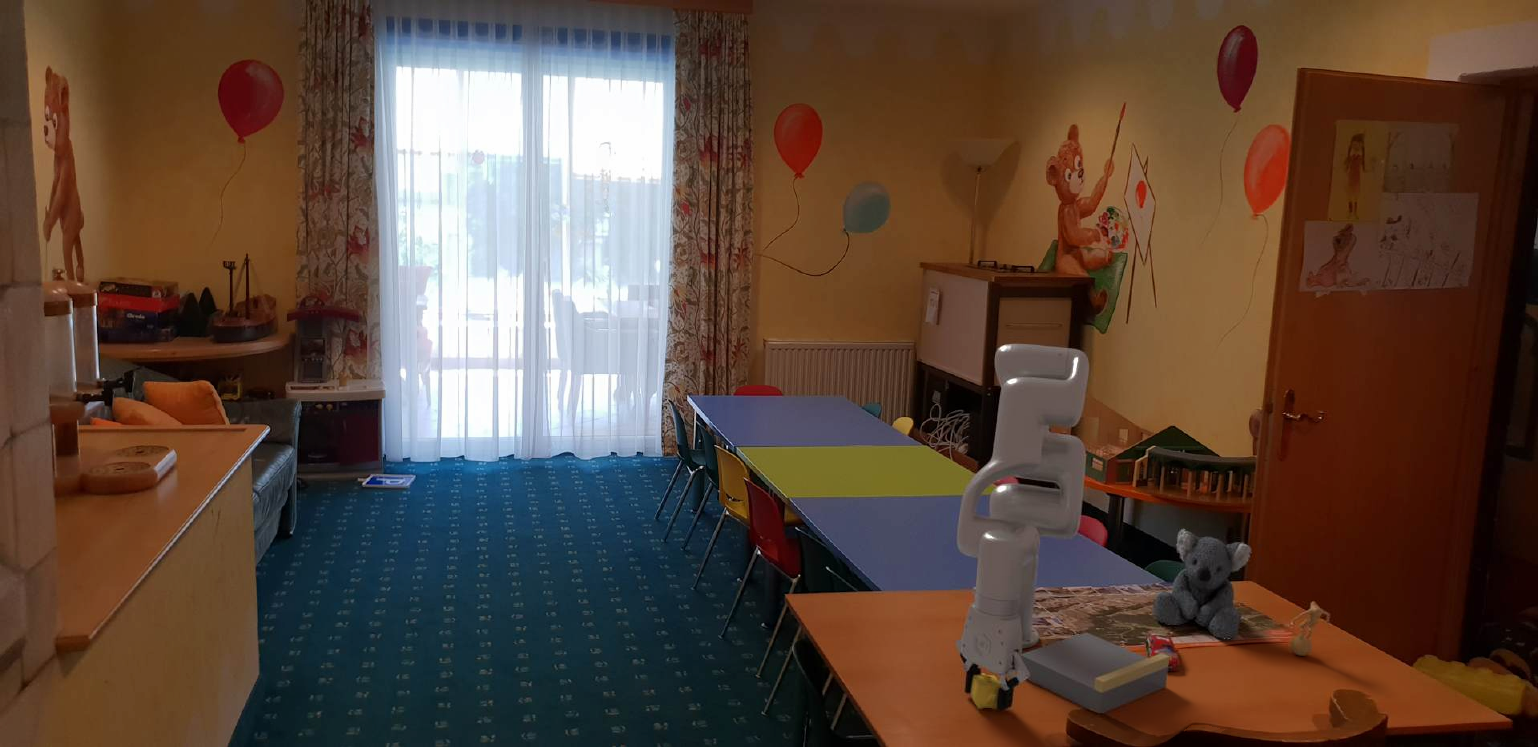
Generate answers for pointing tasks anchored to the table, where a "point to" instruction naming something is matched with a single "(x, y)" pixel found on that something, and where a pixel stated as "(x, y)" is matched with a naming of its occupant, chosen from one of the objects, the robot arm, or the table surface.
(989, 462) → the robot arm
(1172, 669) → the race car
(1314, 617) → the figurine
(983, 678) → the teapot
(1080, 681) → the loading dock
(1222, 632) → the koala plush
